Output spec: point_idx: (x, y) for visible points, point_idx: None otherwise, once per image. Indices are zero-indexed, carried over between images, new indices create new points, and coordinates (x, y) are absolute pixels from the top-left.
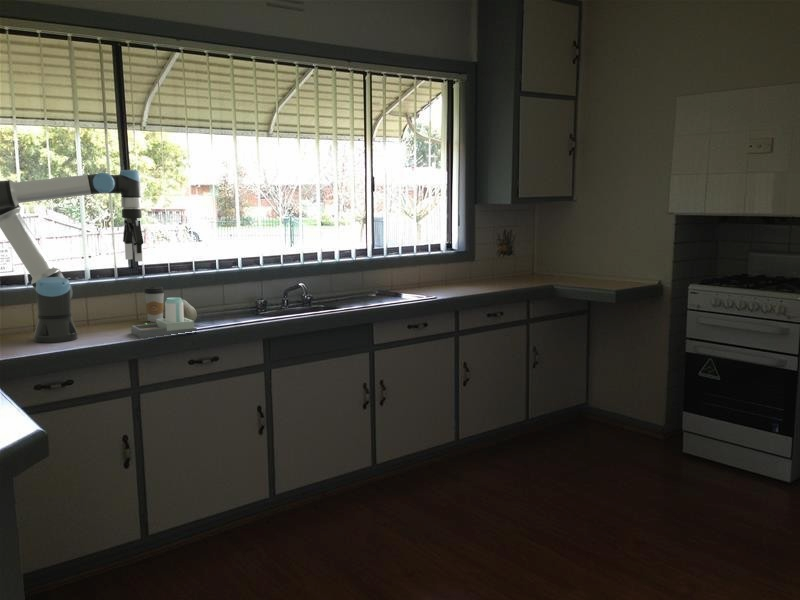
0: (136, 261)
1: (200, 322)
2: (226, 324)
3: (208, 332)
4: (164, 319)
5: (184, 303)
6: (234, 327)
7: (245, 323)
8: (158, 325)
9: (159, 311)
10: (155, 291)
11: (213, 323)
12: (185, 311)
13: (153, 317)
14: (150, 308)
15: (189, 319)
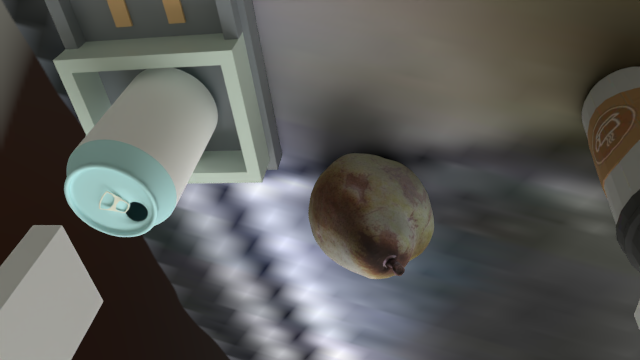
0: (39, 236)
1: None
2: (303, 294)
3: None
4: (228, 90)
5: (344, 256)
6: (219, 291)
7: (293, 339)
8: (201, 38)
9: (590, 149)
10: (629, 222)
11: None
12: (313, 221)
13: (598, 98)
14: (626, 116)
15: None
